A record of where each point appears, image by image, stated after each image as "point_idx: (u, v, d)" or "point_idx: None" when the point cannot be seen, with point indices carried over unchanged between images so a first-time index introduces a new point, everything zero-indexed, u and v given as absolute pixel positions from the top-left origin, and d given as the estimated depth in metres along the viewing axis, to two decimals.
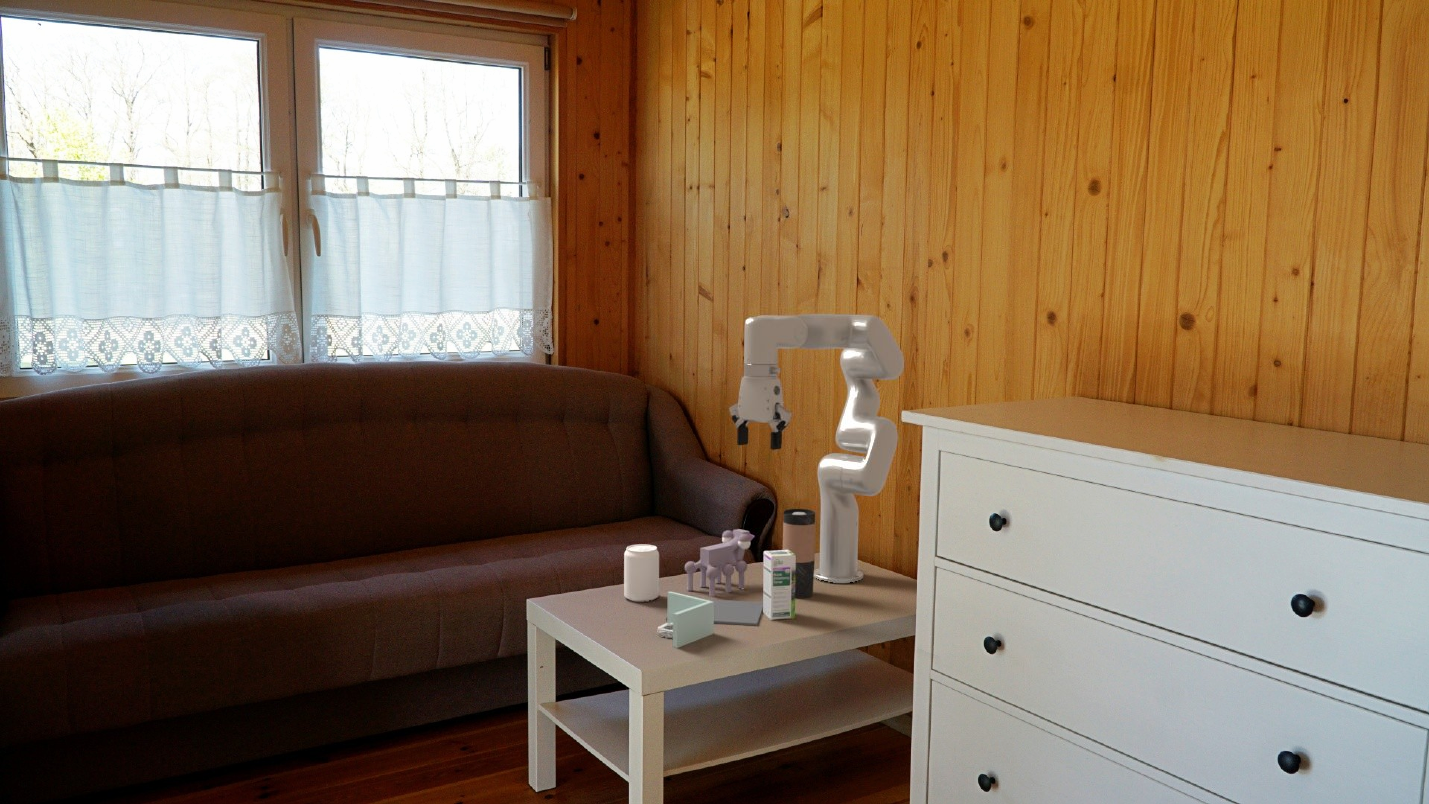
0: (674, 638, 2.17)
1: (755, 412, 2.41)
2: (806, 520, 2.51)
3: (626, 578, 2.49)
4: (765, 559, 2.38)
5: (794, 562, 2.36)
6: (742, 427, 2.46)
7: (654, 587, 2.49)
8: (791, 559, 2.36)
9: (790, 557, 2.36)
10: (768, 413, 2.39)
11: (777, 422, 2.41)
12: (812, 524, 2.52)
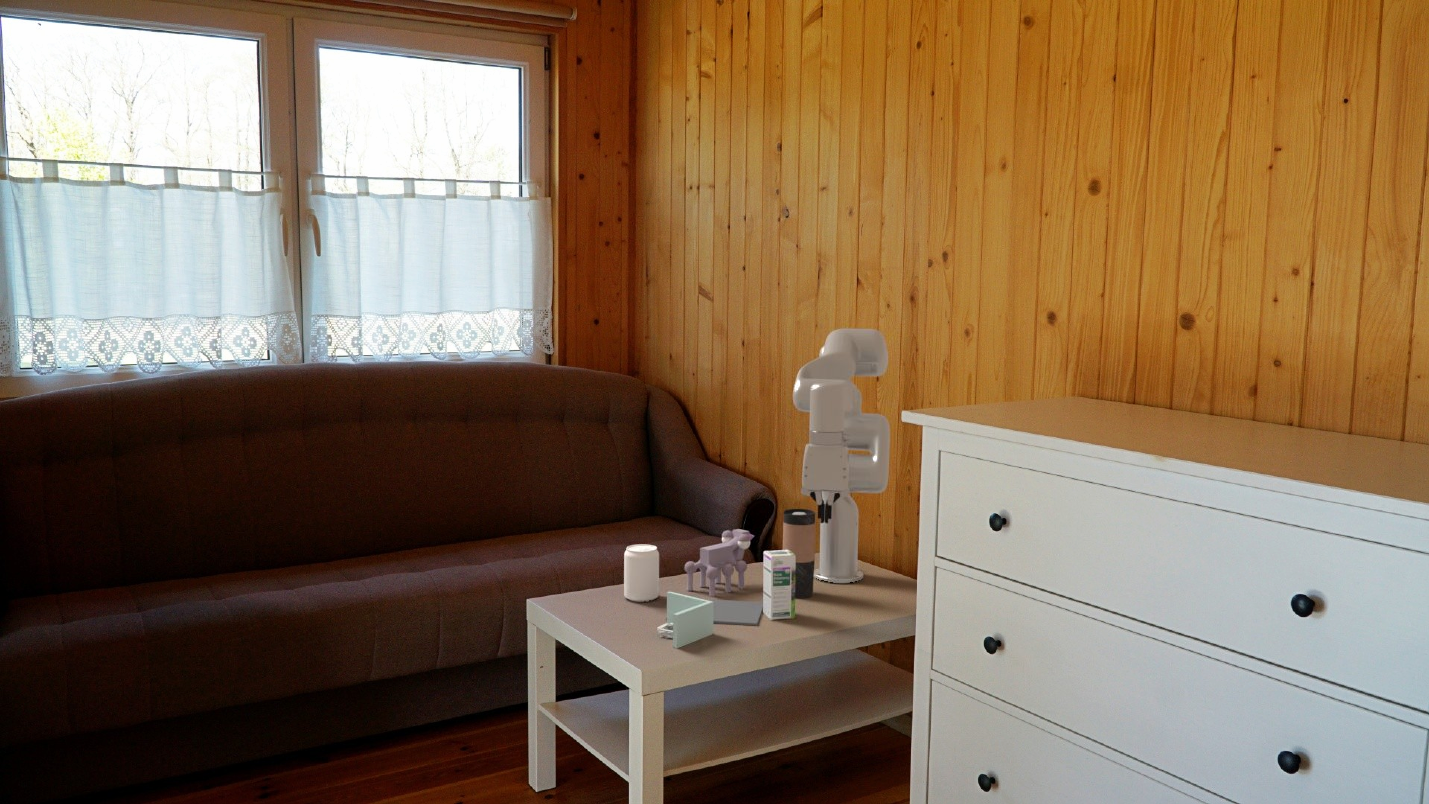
0: (674, 638, 2.17)
1: (827, 481, 2.32)
2: (806, 520, 2.51)
3: (626, 578, 2.49)
4: (765, 559, 2.38)
5: (794, 562, 2.36)
6: (823, 504, 2.35)
7: (654, 587, 2.49)
8: (791, 559, 2.36)
9: (790, 557, 2.36)
10: (844, 482, 2.32)
11: None
12: (812, 524, 2.52)
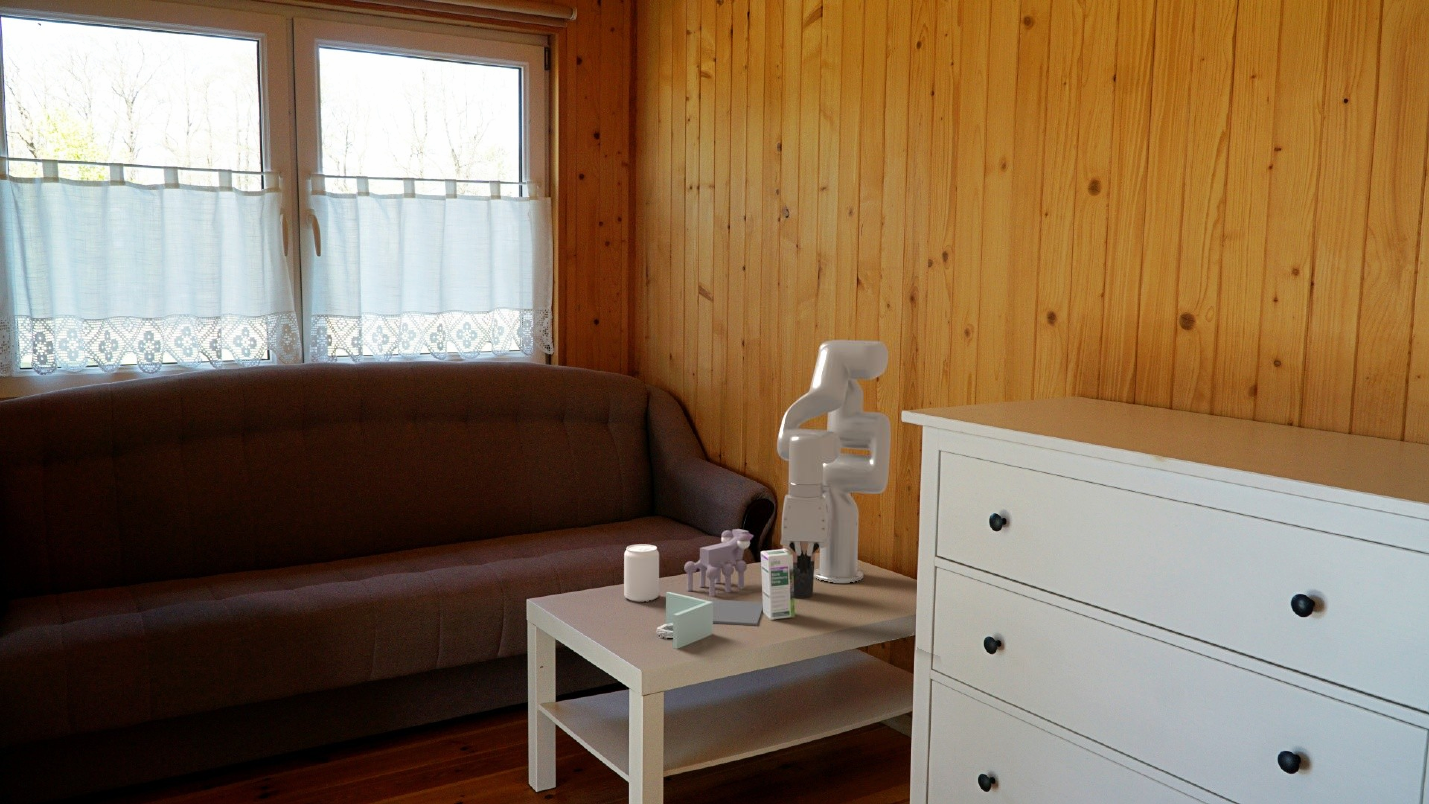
0: (674, 639, 2.17)
1: (806, 533, 2.34)
2: None
3: (626, 578, 2.49)
4: (762, 559, 2.38)
5: (792, 561, 2.36)
6: (802, 554, 2.37)
7: (654, 587, 2.49)
8: (789, 558, 2.36)
9: (787, 557, 2.35)
10: (823, 533, 2.34)
11: None
12: None
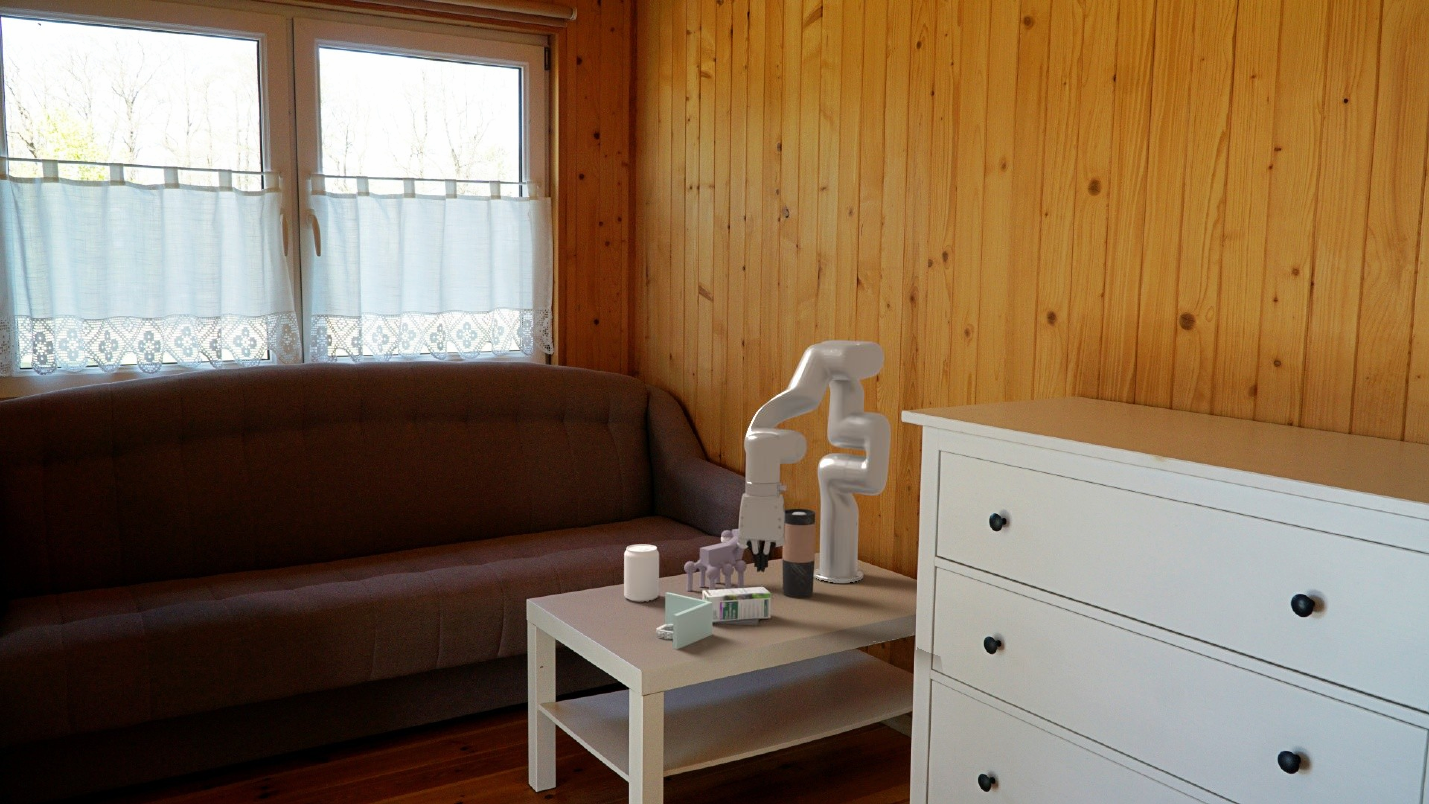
0: (674, 639, 2.16)
1: (763, 531, 2.35)
2: (806, 520, 2.51)
3: (626, 578, 2.49)
4: None
5: (715, 597, 2.32)
6: (760, 553, 2.38)
7: (654, 587, 2.49)
8: (712, 601, 2.32)
9: None
10: (779, 532, 2.35)
11: None
12: (812, 524, 2.52)
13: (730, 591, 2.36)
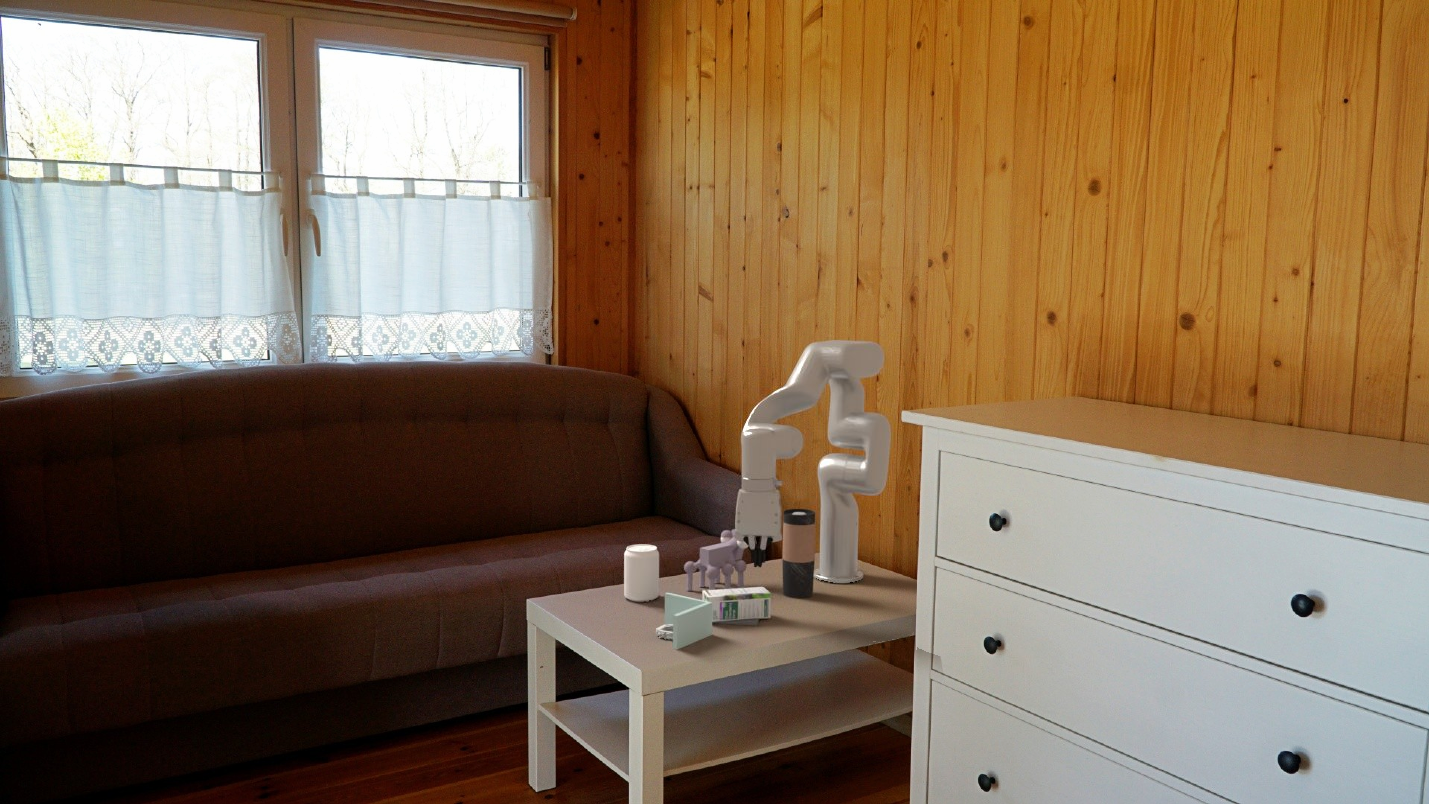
0: (674, 640, 2.16)
1: (760, 527, 2.36)
2: (806, 520, 2.51)
3: (626, 578, 2.49)
4: None
5: (715, 597, 2.32)
6: (756, 548, 2.38)
7: (654, 587, 2.49)
8: (712, 601, 2.32)
9: None
10: (776, 527, 2.35)
11: None
12: (812, 524, 2.52)
13: (730, 591, 2.36)
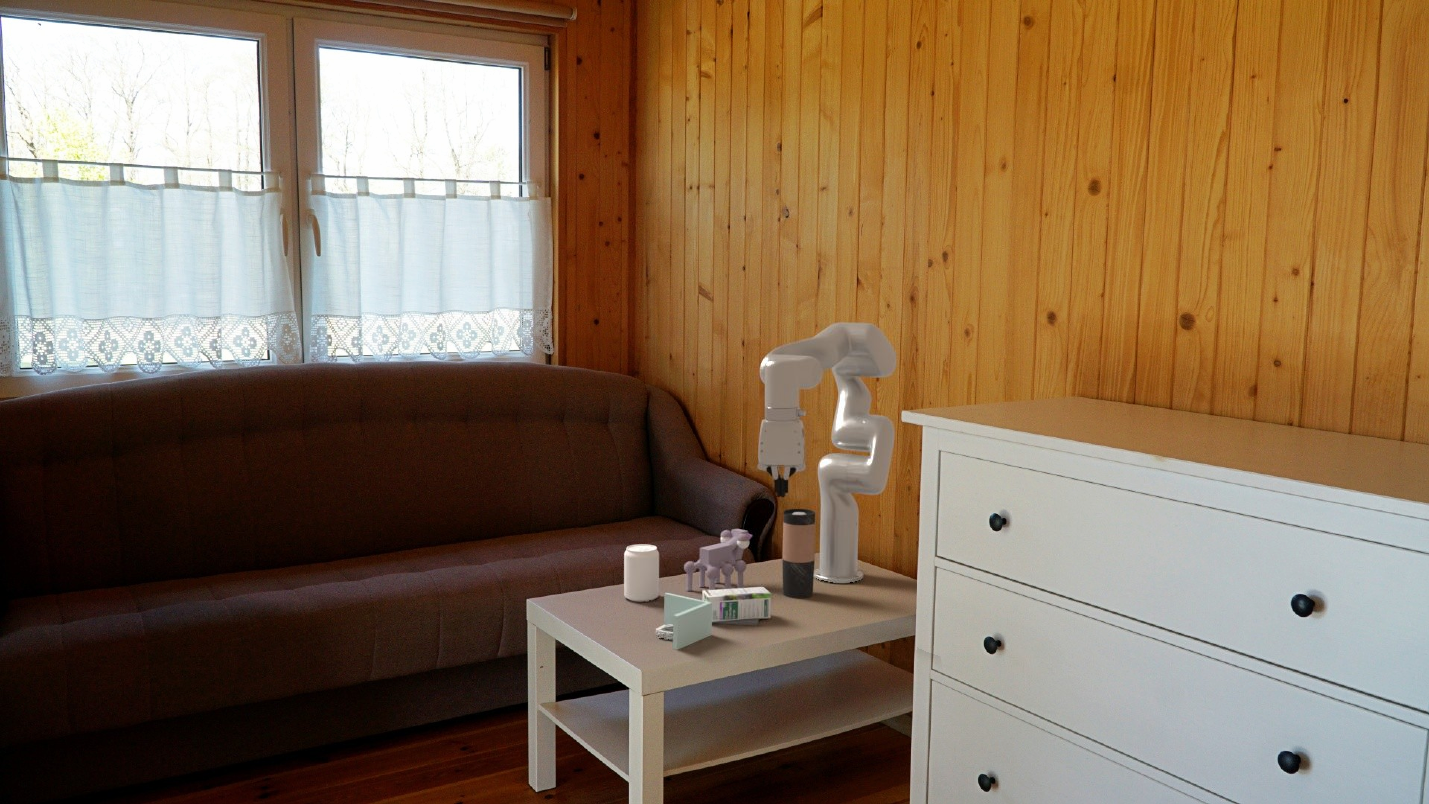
0: (674, 640, 2.16)
1: (783, 456, 2.36)
2: (806, 520, 2.51)
3: (626, 578, 2.49)
4: None
5: (715, 597, 2.32)
6: (780, 478, 2.38)
7: (654, 587, 2.49)
8: (712, 601, 2.32)
9: None
10: (799, 456, 2.35)
11: None
12: (812, 524, 2.52)
13: (730, 591, 2.36)
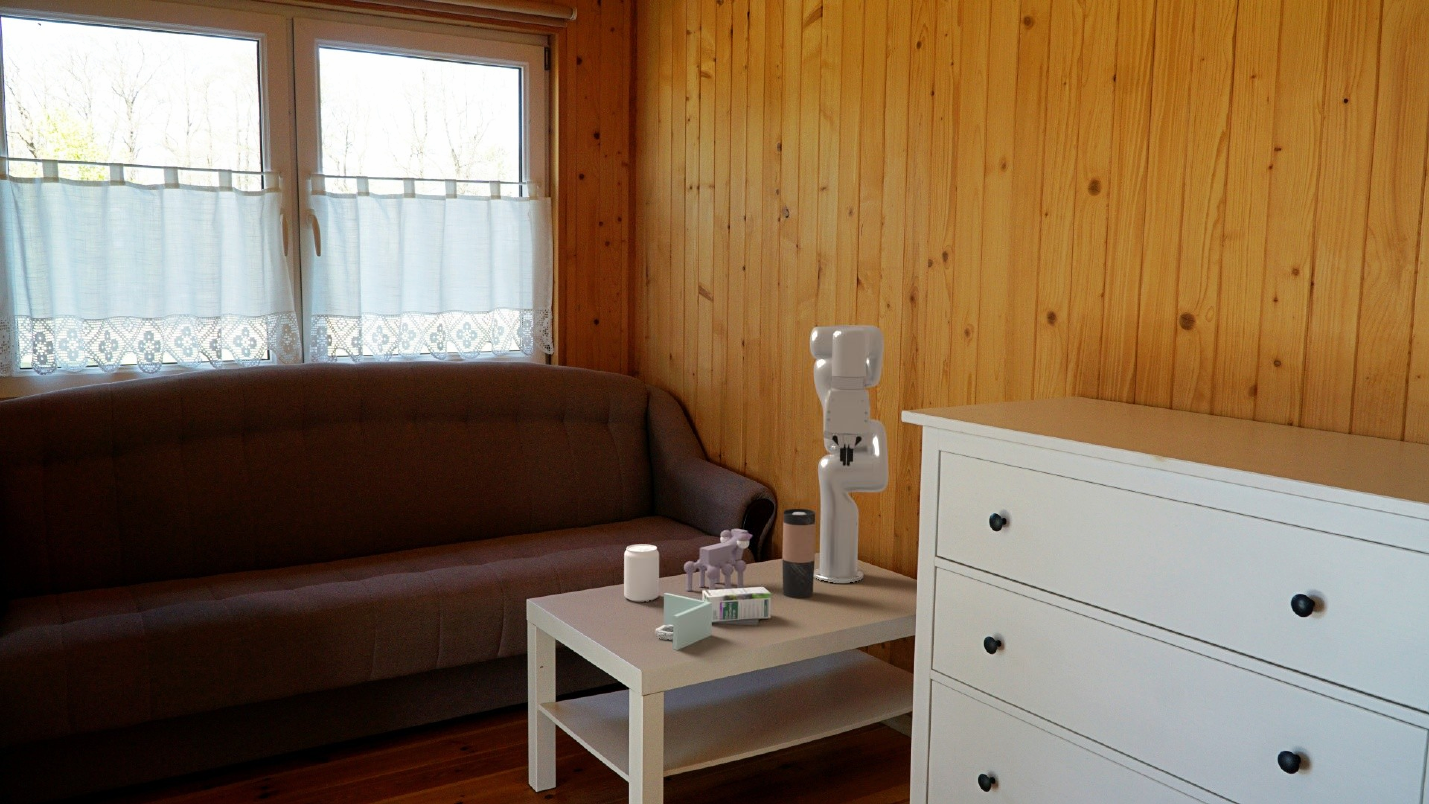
0: (674, 640, 2.16)
1: (849, 425, 2.39)
2: (806, 520, 2.51)
3: (626, 578, 2.49)
4: None
5: (715, 597, 2.32)
6: (845, 447, 2.42)
7: (654, 587, 2.49)
8: (712, 601, 2.32)
9: None
10: (865, 425, 2.39)
11: None
12: (812, 524, 2.52)
13: (730, 591, 2.36)
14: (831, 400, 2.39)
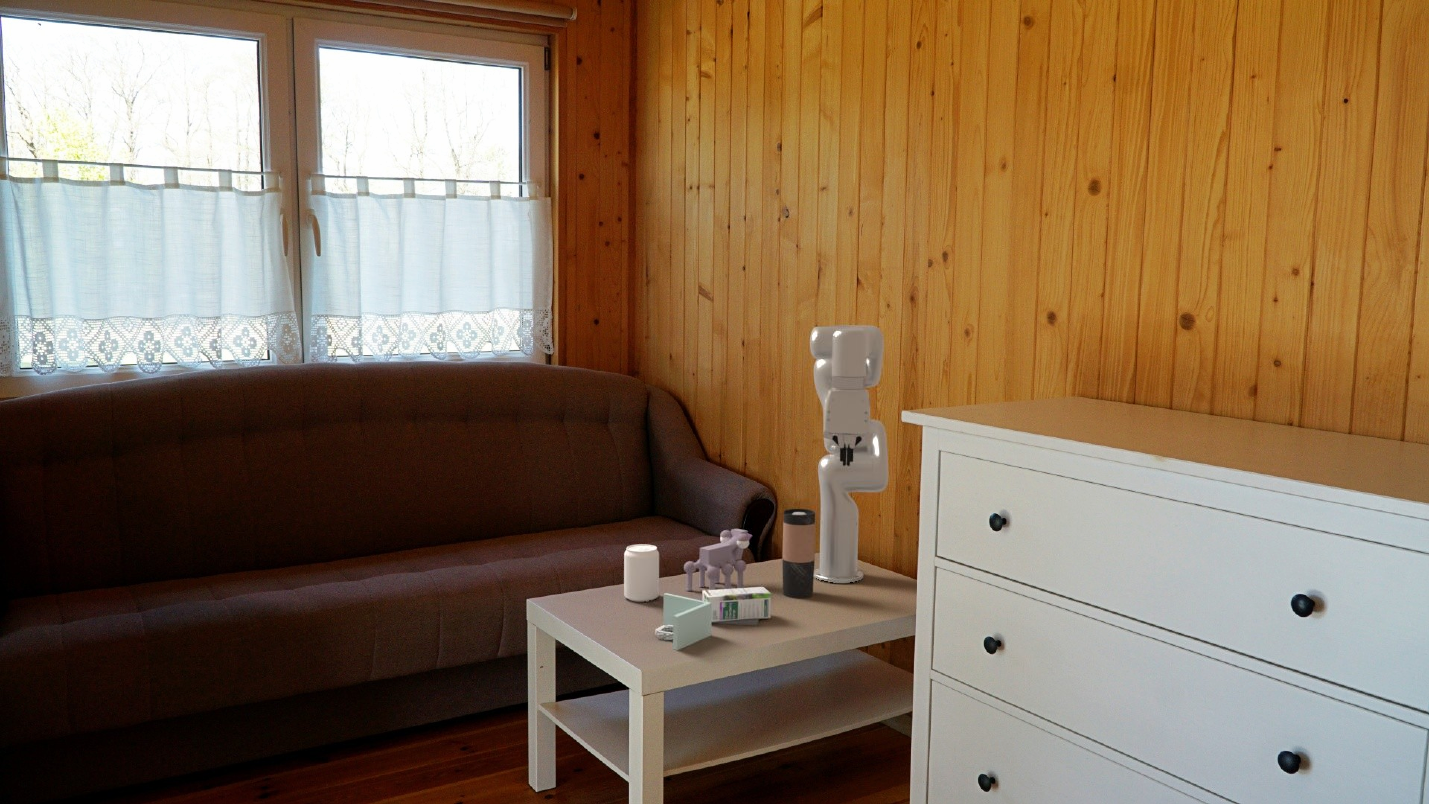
0: (674, 640, 2.16)
1: (849, 425, 2.39)
2: (806, 520, 2.51)
3: (626, 578, 2.49)
4: None
5: (715, 597, 2.32)
6: (845, 447, 2.42)
7: (654, 587, 2.49)
8: (712, 601, 2.32)
9: (710, 602, 2.32)
10: (866, 425, 2.39)
11: None
12: (812, 524, 2.52)
13: (730, 591, 2.36)
14: (831, 400, 2.39)
